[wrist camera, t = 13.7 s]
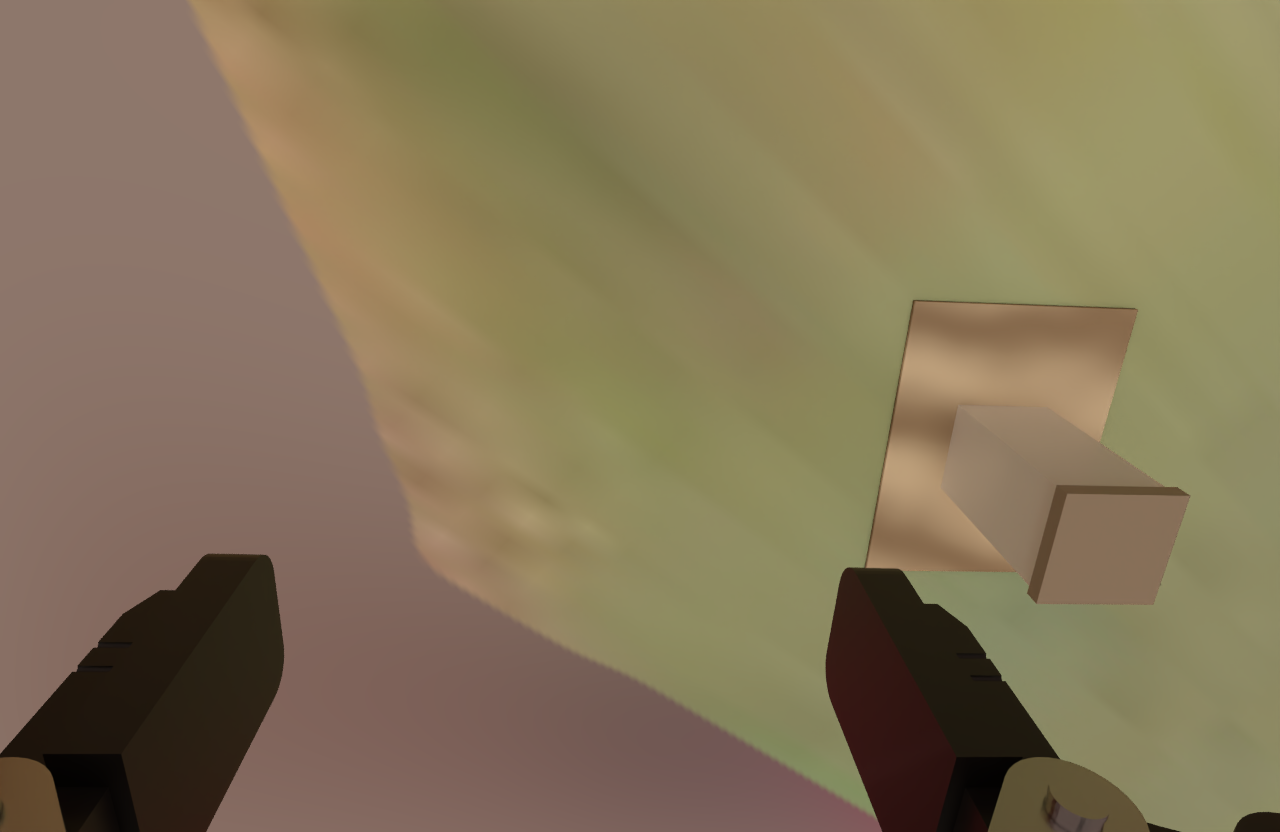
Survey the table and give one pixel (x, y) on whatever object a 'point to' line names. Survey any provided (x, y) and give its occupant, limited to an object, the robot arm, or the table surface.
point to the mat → (982, 375)
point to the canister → (1061, 506)
